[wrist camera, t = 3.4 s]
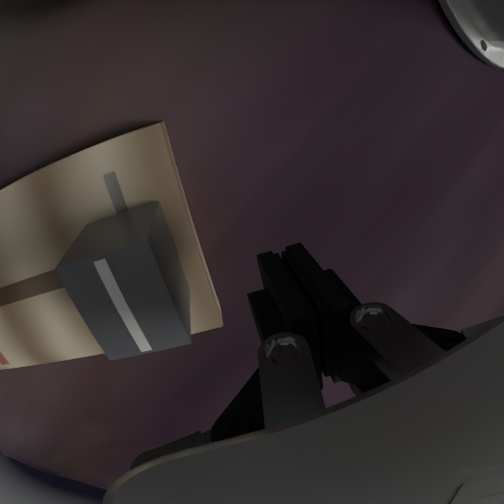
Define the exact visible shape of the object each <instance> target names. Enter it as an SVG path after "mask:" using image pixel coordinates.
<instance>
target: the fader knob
mask: <svg viewBox="0 0 504 504" xmlns="http://www.w3.org/2000/svg"><path fill="white" fill-rule="evenodd" d="M55 270H56V272H57V274H58V276H59V278H60V280H61V281H62V283H63V285H64V287H65V289H66V291H67V293H68V294H69V296H70V298H71V300H72V301H73V303H74V305H75V307H76V308H77V310H78V312H79V313H80V315H81V317H82V318H83V320H84V322H85V323H86V325H87V327H88V328H89V330H90V331H91V333H92V335H93V336H94V338H95V339H96V341H97V342H98V344H99V345H100V347H101V348H102V350H103V351H104V353H105V354H106V356H107V357H108V359H109V360H110V361H111V360H116V359H121V358H126V357H132V356H137V355H141V354H146V353H151V352H156V351H160V350H165V349H169V348H174V347H178V346H183V345H187V344H191V320H190V287H189V284H188V281H187V279H186V276H185V273H184V271H183V268H182V265H181V262H180V260H179V257H178V254H177V251H176V248H175V246H174V243H173V240H172V237H171V234H170V231H169V228H168V225H167V222H166V219H165V216H164V213H163V210H162V207H161V204H160V201H157V202H153V203H150V204H147V205H144V206H140V207H137V208H134V209H131V210H128V211H125V212H122V213H119V214H116V215H113V216H110V217H107V218H104V219H101V220H98V221H95V222H92V223H89V224H86V226H85V227H84V228H83V230H82V231H81V232H80V234H79V235H78V236H77V238H76V239H75V240H74V242H73V243H72V245H71V246H70V247H69V249H68V250H67V252H66V253H65V255H64V256H63V257H62V259H61V260H60V262H59V263H58V265H57V266H56V268H55Z"/></svg>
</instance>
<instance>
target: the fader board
mask: <svg viewBox="0 0 504 504" xmlns="http://www.w3.org/2000/svg"><path fill="white" fill-rule="evenodd" d="M157 201H160V204H161V207H162V210H163V213H164V216H165V219H166V222H167V225H168V228H169V231H170V234H171V237H172V240H173V243H174V246H175V248H176V251H177V254H178V257H179V260H180V262H181V265H182V268H183V271H184V273H185V276H186V279H187V281H188V284H189V287H190V320H191V334H194V333H198V332H202V331H206V330H210V329H214V328H218V327H221V326H223V321H222V315H221V309H220V305H219V302H218V299H217V296H216V293H215V290H214V287H213V284H212V281H211V278H210V275H209V272H208V269H207V265H206V262H205V259H204V256H203V253H202V250H201V247H200V244H199V240H198V237H197V234H196V231H195V228H194V224H193V221H192V218H191V214H190V211H189V208H188V204H187V201H186V198H185V194H184V191H183V188H182V184H181V181H180V177H179V174H178V170H177V167H176V163H175V160H174V156H173V152H172V149H171V145H170V141H169V138H168V134H167V130H166V127H165V123H164V121H162V122H158V123H155V124H152V125H149V126H146V127H143V128H140V129H137V130H134V131H131V132H128V133H125V134H122V135H119V136H117V137H114V138H111V139H109V140H106V141H103V142H101V143H98V144H96V145H93V146H91V147H88V148H86V149H83V150H81V151H78V152H76V153H74V154H71V155H69V156H67V157H64V158H62V159H60V160H58V161H56V162H53V163H51V164H49V165H47V166H45V167H43V168H41V169H39V170H37V171H34V172H32V173H30V174H28V175H27V176H25V177H23V178H21V179H19V180H17V181H15V182H13V183H11V184H9V185H7V186H6V187H4V188H2V189H0V370H1V369H9V368H16V367H24V366H31V365H38V364H44V363H51V362H57V361H63V360H69V359H75V358H80V357H86V356H91V355H97V354H102V353H104V351H103V350H102V348H101V347H100V345H99V344H98V342H97V341H96V339H95V338H94V336H93V335H92V333H91V331H90V330H89V328H88V327H87V325H86V323H85V322H84V320H83V318H82V317H81V315H80V313H79V312H78V310H77V308H76V307H75V305H74V303H73V301H72V300H71V298H70V296H69V294H68V293H67V291H66V289H65V287H64V285H63V283H62V281H61V280H60V278H59V276H58V274H57V272H56V270H55V268H56V266H57V265H58V263H59V262H60V260H61V259H62V257H63V256H64V255H65V253H66V252H67V250H68V249H69V247H70V246H71V245H72V243H73V242H74V240H75V239H76V238H77V236H78V235H79V234H80V232H81V231H82V230H83V228H84V227H85V226H86V224H89V223H92V222H95V221H98V220H101V219H104V218H107V217H110V216H113V215H116V214H119V213H122V212H125V211H128V210H131V209H134V208H137V207H140V206H144V205H147V204H150V203H153V202H157Z"/></svg>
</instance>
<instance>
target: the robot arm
mask: <svg viewBox="0 0 504 504" xmlns="http://www.w3.org/2000/svg"><path fill="white" fill-rule="evenodd" d="M438 1H439V3H440V5H441V7H442V9H443V11H444V13H445V15H446V17H447V18H448V20H449V22H450V23H451V25H452V27H453V28H454V30H455V31H456V32H457V34H458V35H459V37H460V38H461V39H462V41H463V42H464V43H465V44H466V45H467V47H468V48H469V49H470V50H471V51H472V52H473V53H474V54H475V55H476V56H477V57H478V58H479V59H480V60H482V61H484V62H485V63H487V64H488V65H490V66H493V67H496V68H504V0H438ZM257 260H258V265H259V269H260V274H261V278H262V282H263V287H264V289H263V290H259V291H256V292H252V293H249V294H247V296H248V300H249V303H250V307H251V311H252V314H253V318H254V321H255V324H256V327H257V330H258V333H259V336H260V339H261V342H262V343H261V345H260V347H259V349H258V364H259V367H258V369H257V370H256V371H255V372H254V374H253V375H252V376H251V378H250V379H249V380H248V382H247V383H246V384H245V385H244V387H243V388H242V389H241V390H240V392H239V393H238V394H237V396H236V397H235V398H234V399H233V401H232V402H231V403H230V404H229V406H228V407H227V408H226V409H225V410H224V412H223V413H222V414H221V415H220V417H219V418H218V419H217V420H216V421H215V423H214V425H213V426H212V429H210V430H208V431H206V432H203V433H201V432H200V431H197V432H195V433H193V434H190V435H188V436H185V437H183V438H180V439H178V440H175V441H172V442H170V443H167V444H165V445H162V446H159V447H156V448H154V449H151V450H148V451H145V452H143V453H141V454H139V455H138V456H137V457H136V458H135V459H134V460H133V462H132V464H131V467H130V471H128V472H126V473H125V474H123V475H122V476H120V477H119V478H118V479H117V480H115V481H114V482H113V483H112V484H111V486H110V487H109V488H108V490H107V492H106V494H105V496H104V499H103V503H102V504H504V316H501V317H497V318H495V319H492V320H489V321H486V322H483V323H480V324H477V325H474V326H471V327H468V328H465V329H462V330H461V333H459V332H457V331H453V330H448V329H442V328H435V327H429V326H423V325H416V324H411V323H410V322H409V321H407V320H406V319H405V318H404V317H402V316H401V315H400V314H399V313H397V312H396V311H395V310H394V309H392V308H391V307H389V306H388V305H386V304H383V303H379V302H370V303H364V304H361V303H360V302H359V300H358V299H357V298H356V297H355V296H354V294H353V293H352V292H351V291H350V290H349V289H348V287H347V286H346V285H345V284H344V283H343V281H342V280H341V279H340V278H339V277H338V276H337V274H336V273H335V272H334V271H333V270H332V269H327V270H324V271H323V269H322V268H321V267H320V266H319V264H318V263H317V262H316V261H315V260H314V258H313V257H312V256H311V255H310V253H309V252H308V251H307V250H306V249H305V247H304V246H303V245H302V244H301V243H297V244H293V245H290V246H286V251H283V252H282V259H281V257H280V256H279V254H278V253H276V254H273V253H272V251H269V252H266V253H262V254H259V255H257ZM322 372H323V374H324V375H325V377H328V376H331V378H332V380H333V382H334V383H337V382H339V381H343V382H347V383H349V385H350V388H351V390H352V391H353V393H354V394H355V395H356V397H353V398H351V399H348V400H346V401H343V402H341V403H338V404H336V405H333V406H331V407H328V408H326V407H325V403H324V400H323V396H322V392H321V390H322V389H323V382H322Z"/></svg>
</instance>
